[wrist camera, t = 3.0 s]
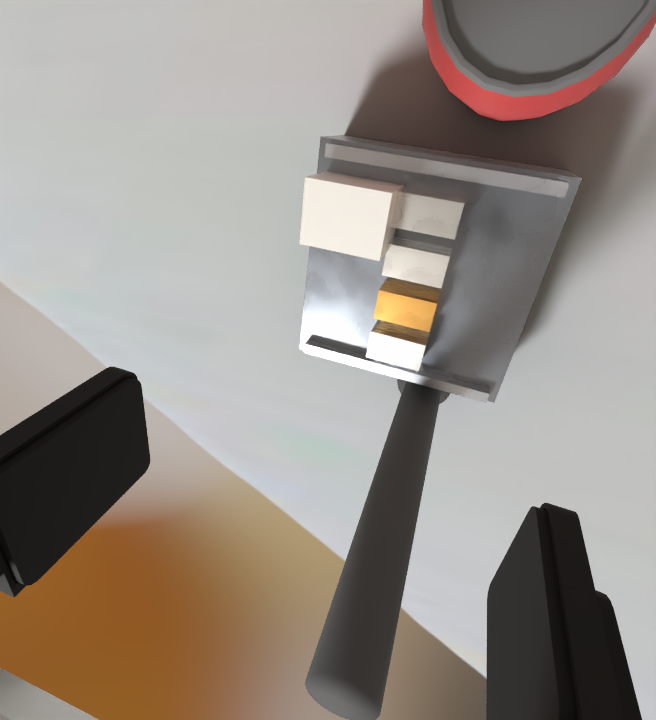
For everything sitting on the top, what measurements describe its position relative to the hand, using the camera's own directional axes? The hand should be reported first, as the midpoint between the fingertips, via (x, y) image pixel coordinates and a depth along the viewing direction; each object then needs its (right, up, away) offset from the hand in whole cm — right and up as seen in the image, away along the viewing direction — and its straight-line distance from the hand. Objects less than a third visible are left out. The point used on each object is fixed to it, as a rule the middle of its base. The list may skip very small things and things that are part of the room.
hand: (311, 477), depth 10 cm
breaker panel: (+6, +9, +16) cm, 19 cm away
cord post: (+7, +1, +20) cm, 21 cm away
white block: (+2, +10, +12) cm, 16 cm away
